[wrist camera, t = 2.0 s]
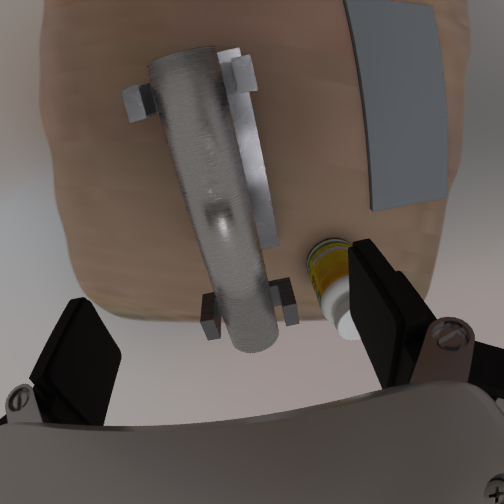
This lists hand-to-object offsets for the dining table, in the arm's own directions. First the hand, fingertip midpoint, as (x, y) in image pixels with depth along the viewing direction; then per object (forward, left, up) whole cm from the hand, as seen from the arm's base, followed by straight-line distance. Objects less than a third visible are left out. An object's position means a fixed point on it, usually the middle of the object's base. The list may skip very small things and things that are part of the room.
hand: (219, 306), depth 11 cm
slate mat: (-3, +17, -18) cm, 25 cm away
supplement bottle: (+12, +8, -19) cm, 23 cm away
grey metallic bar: (-1, 0, -6) cm, 6 cm away
